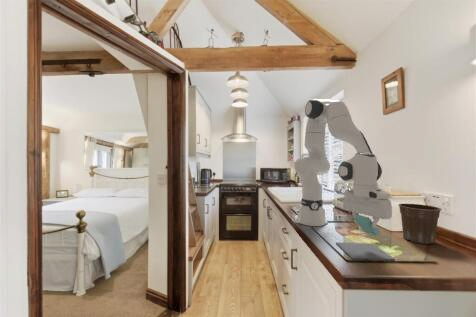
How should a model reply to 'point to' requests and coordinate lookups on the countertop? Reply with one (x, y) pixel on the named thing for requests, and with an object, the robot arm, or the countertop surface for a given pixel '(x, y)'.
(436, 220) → the plant pot
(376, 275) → the countertop surface
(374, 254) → the mat
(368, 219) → the teal board
